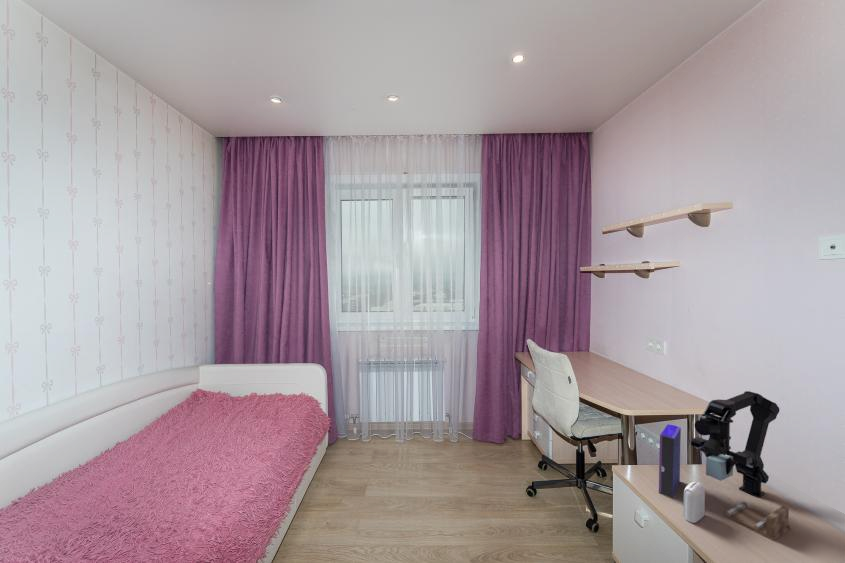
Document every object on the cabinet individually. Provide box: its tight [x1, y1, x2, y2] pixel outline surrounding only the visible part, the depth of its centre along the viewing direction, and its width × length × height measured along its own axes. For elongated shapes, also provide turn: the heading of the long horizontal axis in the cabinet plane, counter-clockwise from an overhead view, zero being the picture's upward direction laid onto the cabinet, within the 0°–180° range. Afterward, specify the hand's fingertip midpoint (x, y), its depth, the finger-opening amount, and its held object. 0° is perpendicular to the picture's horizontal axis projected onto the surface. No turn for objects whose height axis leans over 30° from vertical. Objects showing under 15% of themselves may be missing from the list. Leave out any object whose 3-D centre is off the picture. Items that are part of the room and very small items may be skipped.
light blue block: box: [705, 454, 734, 482], centre depth 142 cm, size 10×5×7 cm, turn 117°
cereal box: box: [658, 424, 682, 499], centre depth 148 cm, size 17×5×24 cm, turn 136°
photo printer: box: [682, 481, 706, 524], centre depth 129 cm, size 10×4×12 cm, turn 123°
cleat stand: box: [722, 501, 791, 541], centre depth 127 cm, size 14×14×7 cm
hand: (719, 471), depth 142 cm, fingers closed on light blue block, 5 cm apart
